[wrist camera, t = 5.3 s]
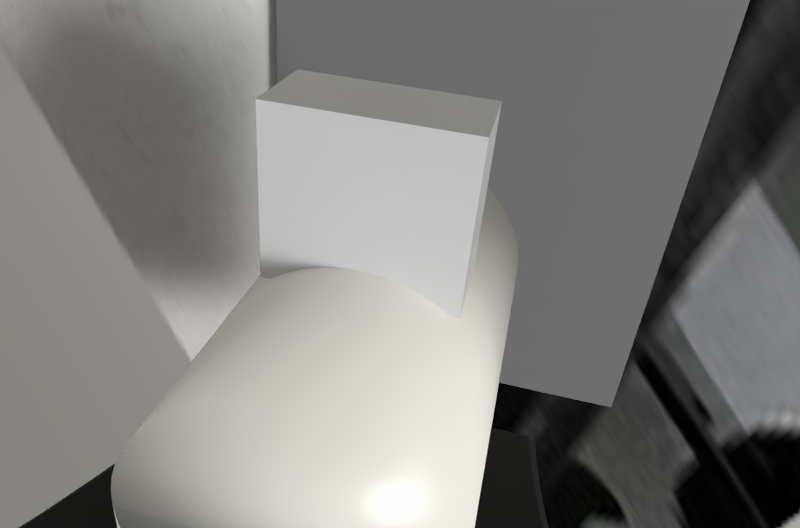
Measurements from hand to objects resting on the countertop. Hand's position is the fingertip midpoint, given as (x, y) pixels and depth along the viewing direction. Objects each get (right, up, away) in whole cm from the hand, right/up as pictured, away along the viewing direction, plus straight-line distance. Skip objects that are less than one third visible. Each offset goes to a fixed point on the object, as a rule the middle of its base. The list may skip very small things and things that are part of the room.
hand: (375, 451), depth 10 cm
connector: (0, +1, +1) cm, 1 cm away
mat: (+2, +4, +7) cm, 9 cm away
